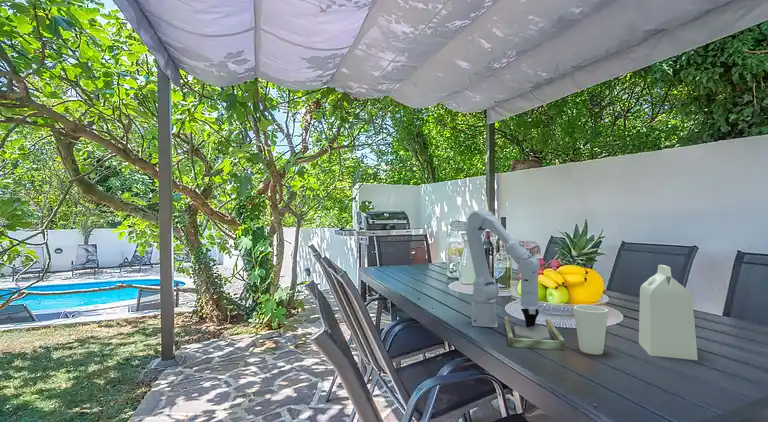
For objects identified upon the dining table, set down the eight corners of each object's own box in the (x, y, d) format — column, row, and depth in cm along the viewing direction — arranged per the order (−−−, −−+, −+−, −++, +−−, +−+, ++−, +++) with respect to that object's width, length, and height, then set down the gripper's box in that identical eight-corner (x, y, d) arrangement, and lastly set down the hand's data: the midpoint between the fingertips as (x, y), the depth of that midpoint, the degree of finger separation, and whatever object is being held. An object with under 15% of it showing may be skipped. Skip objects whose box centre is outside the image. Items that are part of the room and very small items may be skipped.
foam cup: (605, 347, 120) (604, 306, 120) (612, 357, 111) (611, 313, 111) (572, 344, 123) (571, 304, 123) (576, 354, 114) (575, 310, 114)
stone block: (553, 351, 123) (547, 335, 132) (553, 337, 122) (547, 322, 131) (515, 349, 125) (511, 335, 135) (514, 336, 125) (511, 322, 134)
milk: (697, 360, 109) (695, 269, 109) (650, 355, 112) (648, 267, 113) (681, 346, 120) (679, 264, 120) (638, 343, 124) (636, 263, 124)
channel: (508, 346, 122) (508, 337, 122) (504, 322, 149) (503, 315, 149) (565, 350, 117) (565, 341, 117) (549, 325, 145) (549, 318, 145)
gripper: (544, 295, 127) (545, 336, 127) (538, 288, 141) (539, 325, 141) (522, 295, 129) (523, 335, 128) (518, 287, 143) (519, 323, 143)
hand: (530, 329), depth 135 cm, fingers closed
